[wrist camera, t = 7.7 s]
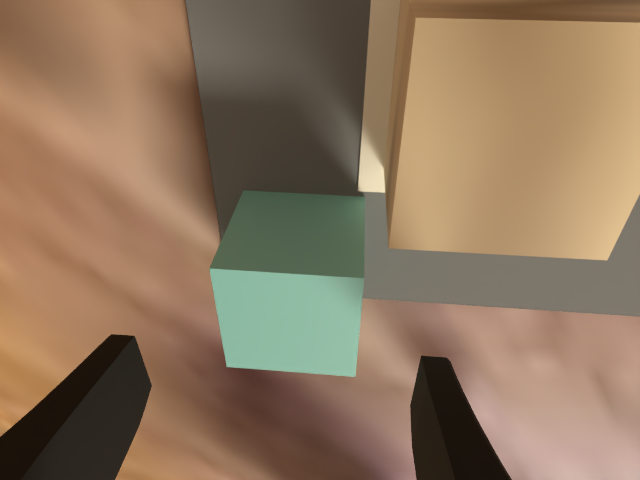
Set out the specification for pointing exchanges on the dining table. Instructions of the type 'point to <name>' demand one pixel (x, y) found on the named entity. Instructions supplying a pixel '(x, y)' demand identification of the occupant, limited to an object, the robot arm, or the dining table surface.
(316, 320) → the teal cube
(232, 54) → the grey flat slab
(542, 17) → the maple block
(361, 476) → the dining table surface
